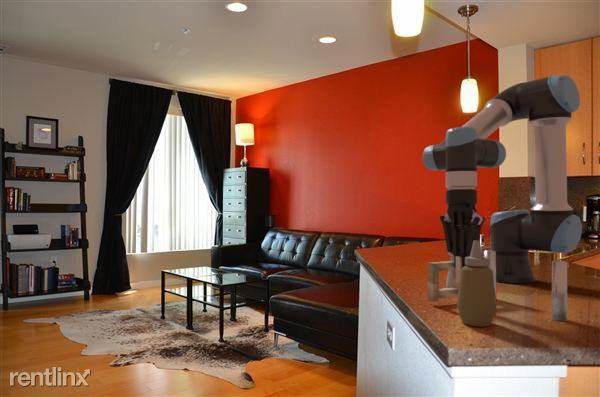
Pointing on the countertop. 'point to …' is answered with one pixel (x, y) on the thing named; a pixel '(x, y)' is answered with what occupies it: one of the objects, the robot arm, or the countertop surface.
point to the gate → (433, 281)
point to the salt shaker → (450, 274)
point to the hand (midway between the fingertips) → (461, 281)
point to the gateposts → (557, 285)
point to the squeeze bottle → (476, 290)
